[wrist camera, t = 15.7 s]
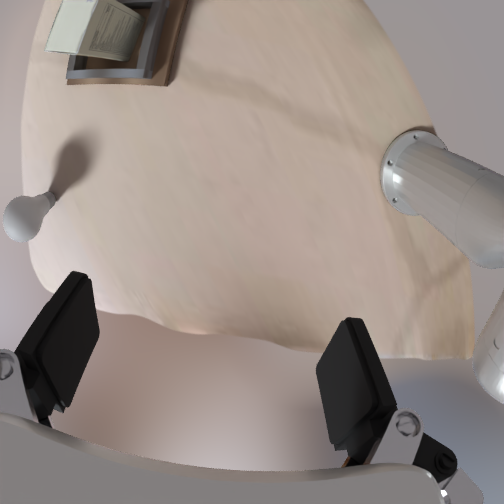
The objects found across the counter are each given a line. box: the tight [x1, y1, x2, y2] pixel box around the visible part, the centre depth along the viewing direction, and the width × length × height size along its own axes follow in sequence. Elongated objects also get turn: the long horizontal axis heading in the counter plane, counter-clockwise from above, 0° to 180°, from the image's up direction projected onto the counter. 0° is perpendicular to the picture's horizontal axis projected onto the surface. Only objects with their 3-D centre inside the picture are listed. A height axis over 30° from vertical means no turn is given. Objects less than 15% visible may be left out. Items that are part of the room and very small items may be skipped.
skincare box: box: [44, 0, 145, 62], centre depth 19 cm, size 6×4×12 cm
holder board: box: [66, 0, 188, 86], centre depth 22 cm, size 14×18×4 cm
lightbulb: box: [3, 192, 56, 242], centre depth 31 cm, size 6×6×11 cm
